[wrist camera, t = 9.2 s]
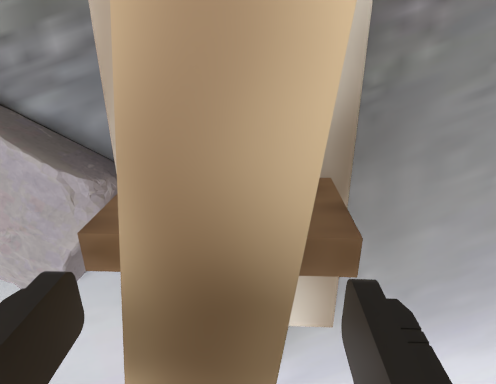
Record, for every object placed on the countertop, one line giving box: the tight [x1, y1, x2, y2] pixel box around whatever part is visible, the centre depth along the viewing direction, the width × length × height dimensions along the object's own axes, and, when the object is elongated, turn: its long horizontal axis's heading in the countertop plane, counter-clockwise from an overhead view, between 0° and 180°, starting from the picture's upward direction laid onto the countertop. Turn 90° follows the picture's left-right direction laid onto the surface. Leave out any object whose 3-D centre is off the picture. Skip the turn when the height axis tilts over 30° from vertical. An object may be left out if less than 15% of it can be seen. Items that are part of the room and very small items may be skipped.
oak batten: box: [110, 0, 357, 384], centre depth 10 cm, size 4×22×4 cm, turn 174°
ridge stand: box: [77, 0, 373, 327], centre depth 16 cm, size 12×18×8 cm, turn 0°
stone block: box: [0, 106, 117, 289], centre depth 19 cm, size 12×5×10 cm
